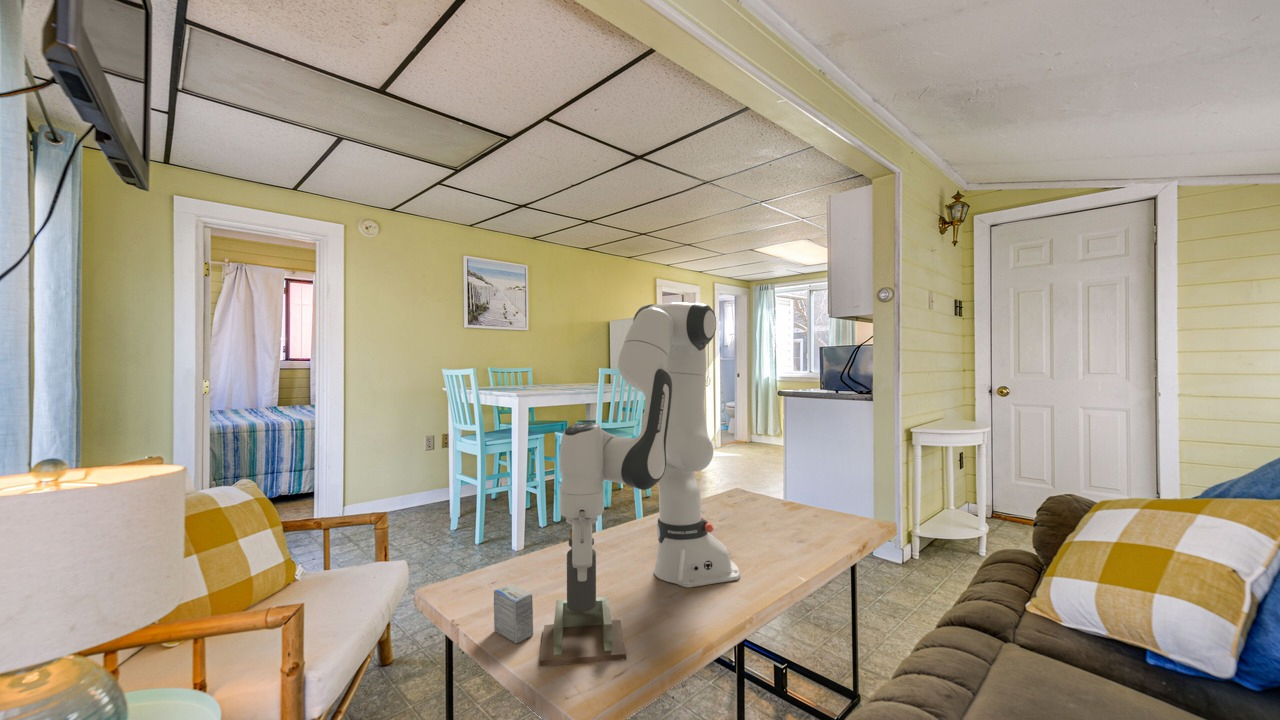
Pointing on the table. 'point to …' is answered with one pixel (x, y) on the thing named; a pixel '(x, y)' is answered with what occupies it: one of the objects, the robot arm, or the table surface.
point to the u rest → (582, 636)
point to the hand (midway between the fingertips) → (582, 573)
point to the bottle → (581, 584)
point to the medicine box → (513, 613)
